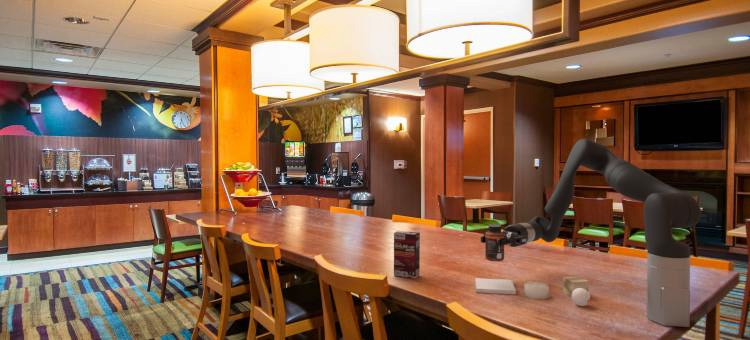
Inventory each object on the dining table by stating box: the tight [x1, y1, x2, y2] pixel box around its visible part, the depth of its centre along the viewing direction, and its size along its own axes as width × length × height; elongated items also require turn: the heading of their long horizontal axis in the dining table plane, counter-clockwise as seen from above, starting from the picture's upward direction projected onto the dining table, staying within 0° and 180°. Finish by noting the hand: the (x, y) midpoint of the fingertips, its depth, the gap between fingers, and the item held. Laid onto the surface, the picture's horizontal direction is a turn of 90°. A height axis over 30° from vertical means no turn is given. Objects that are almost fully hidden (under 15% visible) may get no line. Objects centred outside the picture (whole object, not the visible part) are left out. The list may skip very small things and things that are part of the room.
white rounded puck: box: [523, 281, 550, 300], centre depth 133 cm, size 7×7×4 cm
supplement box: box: [393, 230, 421, 279], centre depth 156 cm, size 9×5×16 cm, turn 65°
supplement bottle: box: [484, 224, 505, 262], centre depth 141 cm, size 6×6×11 cm
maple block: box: [562, 276, 589, 298], centre depth 133 cm, size 5×5×5 cm
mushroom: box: [571, 288, 591, 307], centre depth 124 cm, size 5×5×5 cm
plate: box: [474, 277, 517, 295], centre depth 141 cm, size 12×12×1 cm
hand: (490, 241), depth 139 cm, fingers closed on supplement bottle, 6 cm apart
